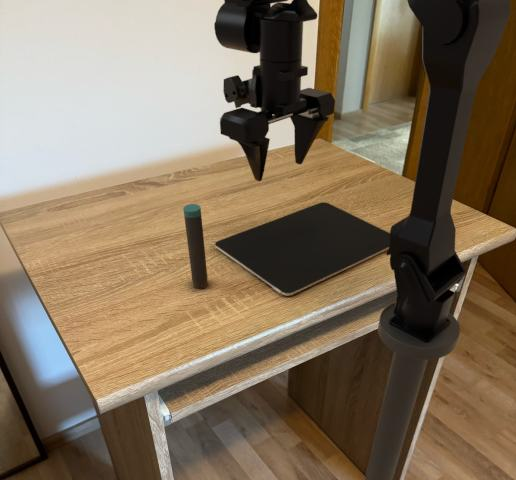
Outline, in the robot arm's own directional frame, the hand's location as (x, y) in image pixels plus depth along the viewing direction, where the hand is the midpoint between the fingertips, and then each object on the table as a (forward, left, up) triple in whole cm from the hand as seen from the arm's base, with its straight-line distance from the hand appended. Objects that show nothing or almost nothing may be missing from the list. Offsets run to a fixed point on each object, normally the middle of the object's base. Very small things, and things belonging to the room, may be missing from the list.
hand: (279, 171), depth 76 cm
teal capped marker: (+1, +17, -13) cm, 22 cm away
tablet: (-3, -4, -13) cm, 14 cm away
